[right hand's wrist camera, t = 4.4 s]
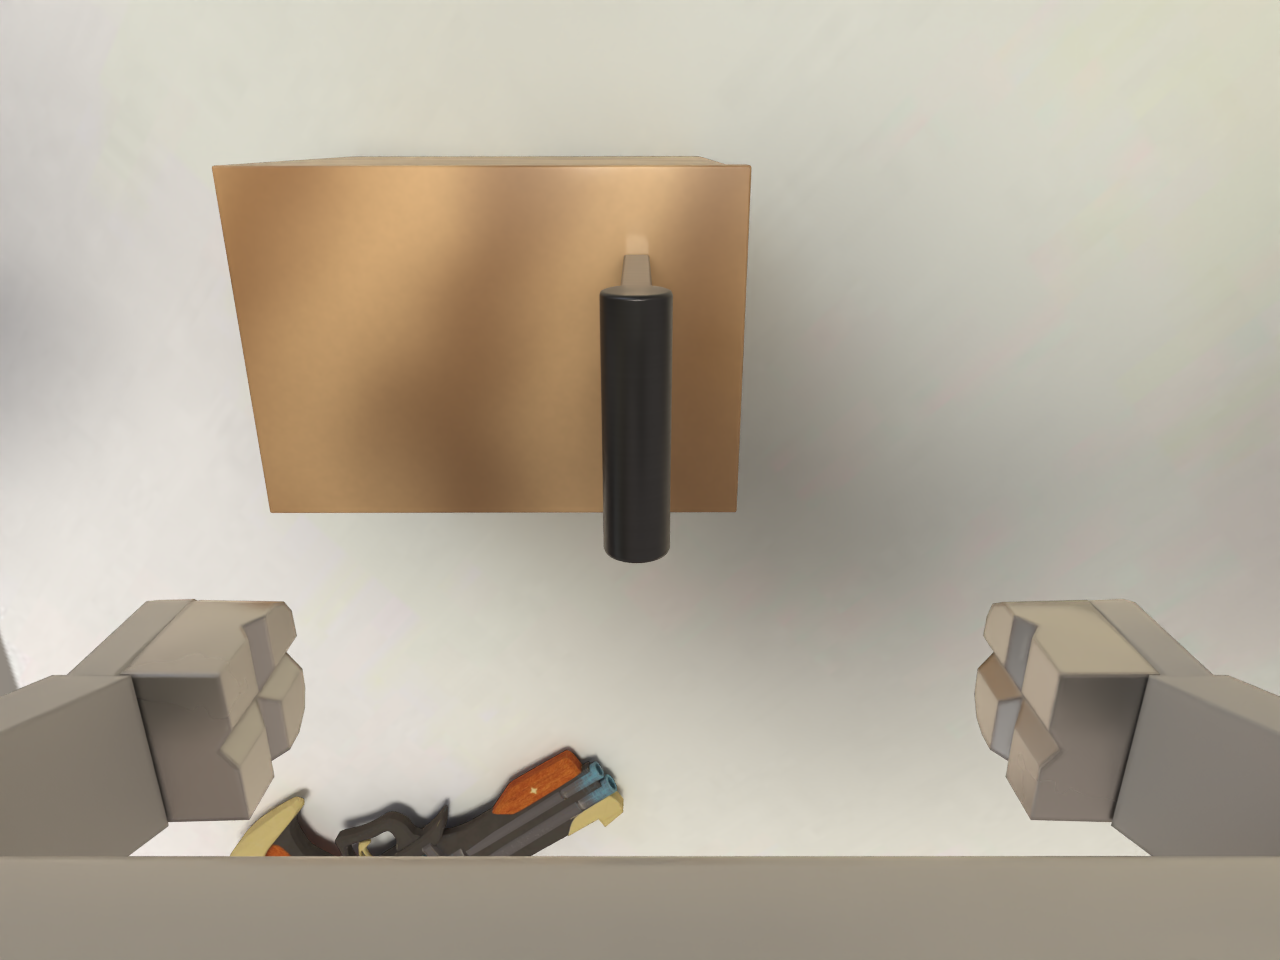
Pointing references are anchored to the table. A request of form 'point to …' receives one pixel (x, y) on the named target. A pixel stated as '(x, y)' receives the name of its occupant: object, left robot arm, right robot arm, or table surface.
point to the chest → (500, 160)
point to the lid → (494, 337)
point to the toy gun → (512, 827)
